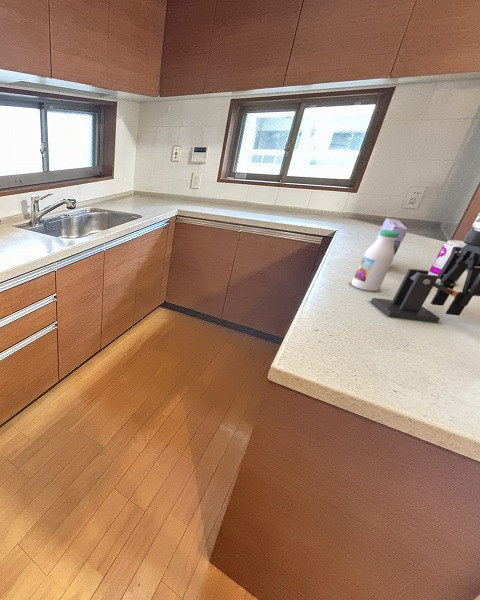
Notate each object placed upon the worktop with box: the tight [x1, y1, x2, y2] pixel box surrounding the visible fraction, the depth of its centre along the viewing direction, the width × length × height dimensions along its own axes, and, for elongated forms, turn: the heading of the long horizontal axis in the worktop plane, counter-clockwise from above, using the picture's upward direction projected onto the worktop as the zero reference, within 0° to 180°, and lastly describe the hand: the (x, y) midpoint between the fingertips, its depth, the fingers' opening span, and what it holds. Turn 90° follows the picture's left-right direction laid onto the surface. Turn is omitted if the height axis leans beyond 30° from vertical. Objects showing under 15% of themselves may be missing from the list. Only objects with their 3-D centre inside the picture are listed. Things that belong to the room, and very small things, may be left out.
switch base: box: [370, 268, 441, 324], centre depth 95 cm, size 12×10×13 cm
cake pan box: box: [373, 217, 409, 257], centre depth 133 cm, size 19×5×18 cm, turn 147°
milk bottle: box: [351, 230, 399, 292], centre depth 110 cm, size 8×8×20 cm
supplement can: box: [428, 239, 466, 285], centre depth 118 cm, size 8×8×15 cm
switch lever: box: [410, 272, 459, 298], centre depth 93 cm, size 12×5×2 cm, turn 75°
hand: (444, 309), depth 95 cm, fingers open, 6 cm apart
